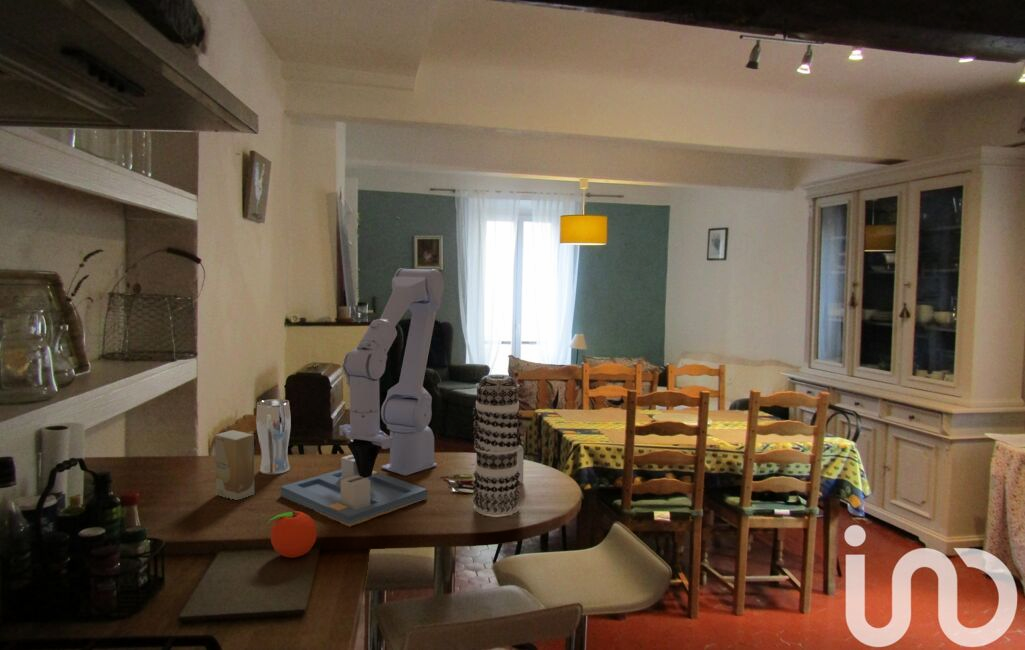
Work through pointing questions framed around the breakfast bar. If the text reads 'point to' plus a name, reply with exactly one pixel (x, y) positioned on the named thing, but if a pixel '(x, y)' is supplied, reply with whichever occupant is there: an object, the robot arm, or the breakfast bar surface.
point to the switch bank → (327, 495)
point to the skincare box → (234, 464)
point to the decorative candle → (496, 445)
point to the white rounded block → (520, 463)
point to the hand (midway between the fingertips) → (365, 476)
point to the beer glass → (273, 435)
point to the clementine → (293, 534)
